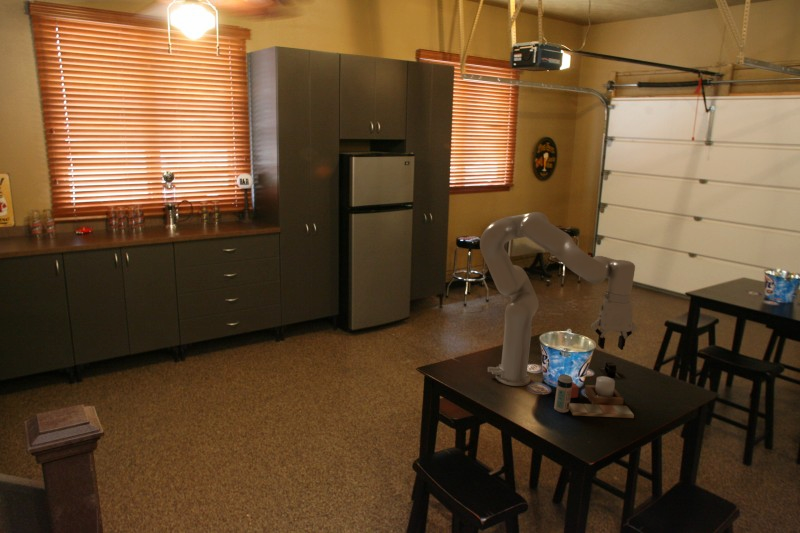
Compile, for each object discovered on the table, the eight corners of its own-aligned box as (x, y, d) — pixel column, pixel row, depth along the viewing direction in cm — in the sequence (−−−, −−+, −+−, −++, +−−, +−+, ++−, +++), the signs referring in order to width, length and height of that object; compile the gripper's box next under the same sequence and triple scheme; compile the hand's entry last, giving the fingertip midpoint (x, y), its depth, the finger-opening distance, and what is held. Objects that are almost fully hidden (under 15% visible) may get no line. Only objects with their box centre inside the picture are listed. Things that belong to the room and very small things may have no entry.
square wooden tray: (593, 406, 199) (594, 397, 199) (584, 392, 209) (585, 384, 208) (622, 407, 200) (623, 399, 199) (612, 394, 209) (613, 386, 209)
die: (567, 398, 204) (568, 387, 203) (561, 392, 208) (562, 382, 207) (577, 397, 205) (579, 386, 204) (571, 392, 209) (572, 381, 208)
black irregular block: (595, 367, 233) (596, 356, 232) (613, 368, 233) (615, 357, 232) (605, 380, 221) (607, 369, 220) (624, 381, 221) (626, 370, 220)
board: (573, 415, 192) (573, 411, 192) (567, 405, 199) (568, 402, 198) (633, 418, 193) (634, 414, 192) (626, 408, 199) (626, 405, 199)
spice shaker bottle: (567, 407, 198) (571, 374, 195) (569, 414, 193) (574, 380, 190) (552, 406, 198) (557, 373, 195) (555, 412, 193) (559, 379, 190)
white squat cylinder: (598, 396, 201) (600, 383, 200) (592, 389, 207) (594, 375, 205) (615, 397, 201) (617, 384, 200) (609, 389, 207) (611, 376, 205)
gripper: (596, 299, 191) (589, 351, 196) (648, 302, 192) (640, 353, 196) (589, 292, 199) (582, 342, 203) (639, 295, 199) (631, 345, 203)
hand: (610, 347), depth 200 cm, fingers open, 5 cm apart
